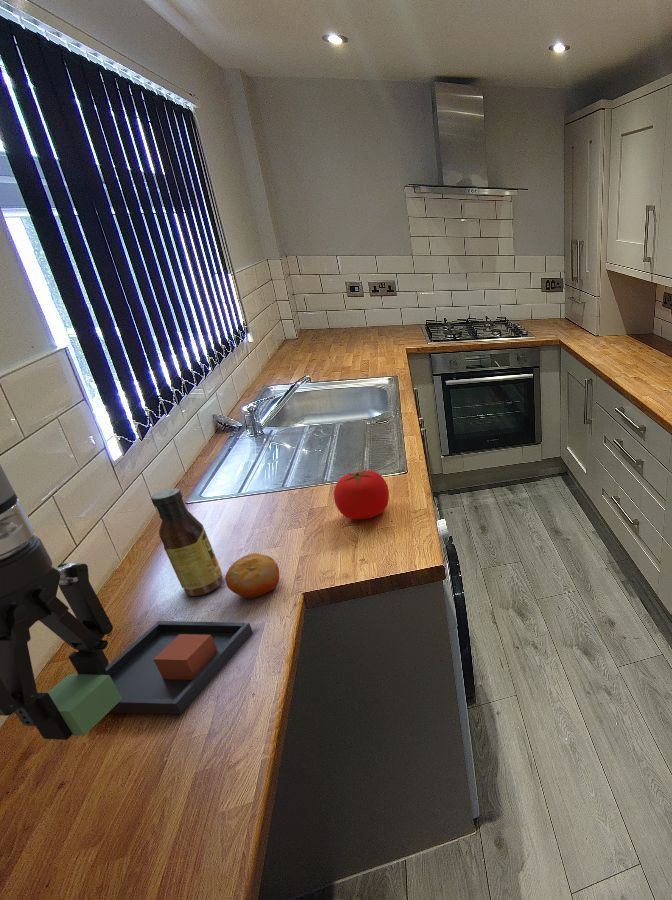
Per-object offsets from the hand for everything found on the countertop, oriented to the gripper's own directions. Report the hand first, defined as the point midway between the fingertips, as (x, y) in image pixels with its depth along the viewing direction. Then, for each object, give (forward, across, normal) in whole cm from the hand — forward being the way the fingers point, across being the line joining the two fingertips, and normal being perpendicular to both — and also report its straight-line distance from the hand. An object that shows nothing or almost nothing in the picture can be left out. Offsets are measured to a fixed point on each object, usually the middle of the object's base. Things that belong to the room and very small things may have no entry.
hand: (82, 713), depth 62 cm
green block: (0, 0, 0) cm, 0 cm away
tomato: (+10, +61, -4) cm, 62 cm away
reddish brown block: (+9, +16, +2) cm, 18 cm away
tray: (+10, +16, +5) cm, 19 cm away
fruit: (+10, +34, +3) cm, 35 cm away
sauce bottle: (+10, +34, +14) cm, 39 cm away
